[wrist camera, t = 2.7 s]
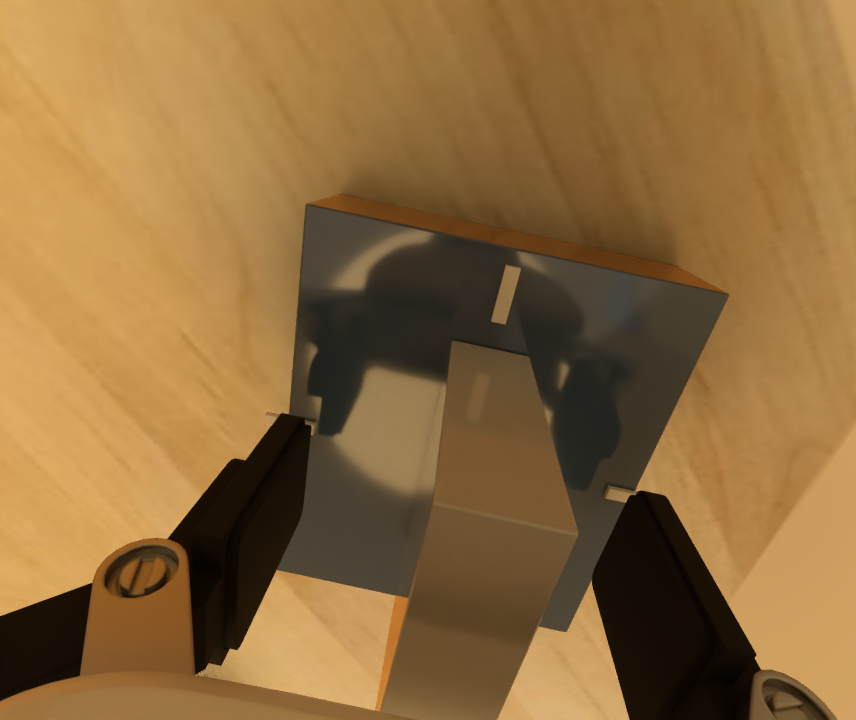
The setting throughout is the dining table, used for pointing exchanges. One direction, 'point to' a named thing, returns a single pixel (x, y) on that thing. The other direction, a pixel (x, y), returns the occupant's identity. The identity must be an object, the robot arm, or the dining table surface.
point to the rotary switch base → (483, 326)
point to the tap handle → (477, 544)
